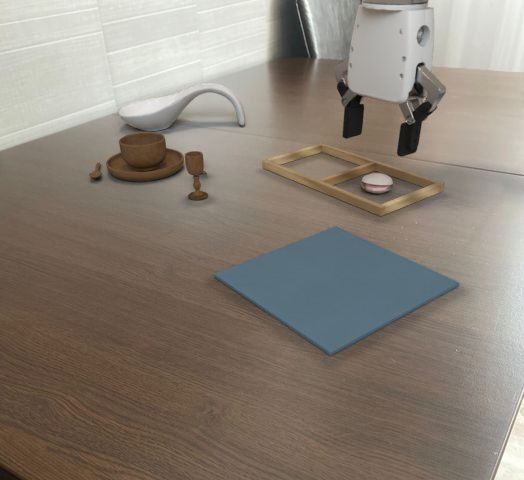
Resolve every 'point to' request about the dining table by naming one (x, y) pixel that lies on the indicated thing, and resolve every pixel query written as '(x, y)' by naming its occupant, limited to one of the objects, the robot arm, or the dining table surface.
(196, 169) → the place setting
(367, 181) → the macaroon
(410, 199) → the holder
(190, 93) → the spoon rest
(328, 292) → the mat
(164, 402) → the dining table surface
